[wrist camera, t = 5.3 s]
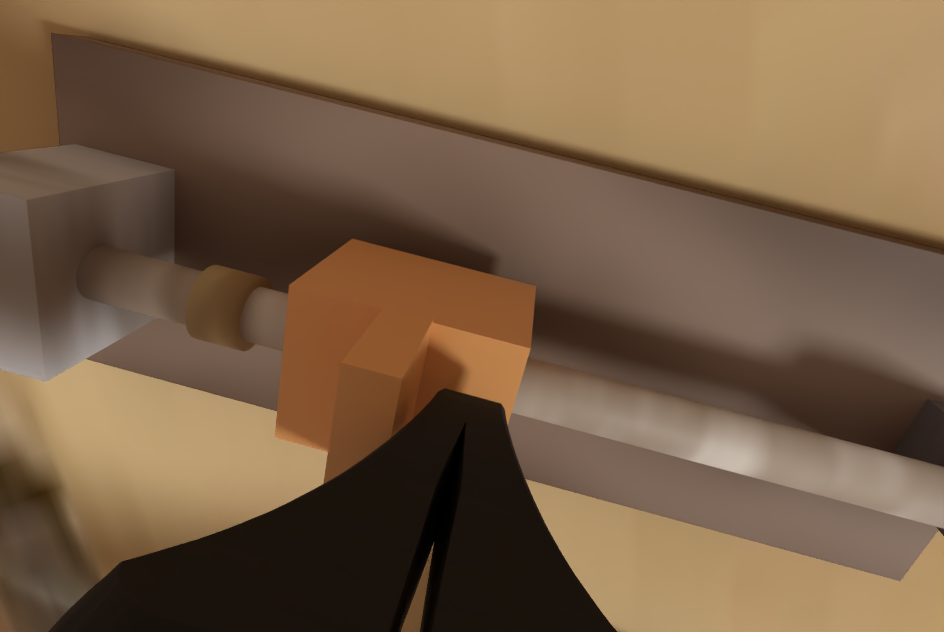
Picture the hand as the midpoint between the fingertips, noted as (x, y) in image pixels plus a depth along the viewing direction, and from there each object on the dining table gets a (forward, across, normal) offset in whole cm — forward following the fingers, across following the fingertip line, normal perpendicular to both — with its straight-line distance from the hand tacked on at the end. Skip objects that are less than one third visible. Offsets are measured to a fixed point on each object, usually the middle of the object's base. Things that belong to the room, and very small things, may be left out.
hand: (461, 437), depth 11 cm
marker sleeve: (+5, +2, 0) cm, 5 cm away
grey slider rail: (+7, -1, 0) cm, 7 cm away
